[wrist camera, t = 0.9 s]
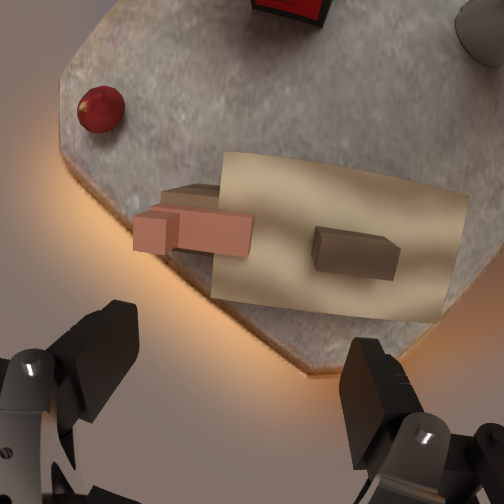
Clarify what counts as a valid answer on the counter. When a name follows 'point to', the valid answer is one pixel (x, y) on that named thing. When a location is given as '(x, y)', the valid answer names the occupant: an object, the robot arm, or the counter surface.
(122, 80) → the counter surface
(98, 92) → the onion
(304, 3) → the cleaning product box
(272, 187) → the lid
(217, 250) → the l-shaped block
